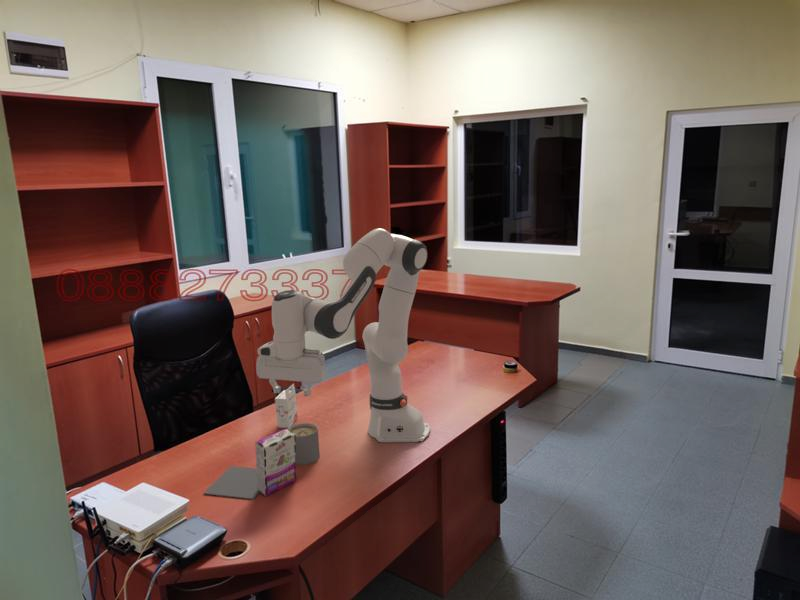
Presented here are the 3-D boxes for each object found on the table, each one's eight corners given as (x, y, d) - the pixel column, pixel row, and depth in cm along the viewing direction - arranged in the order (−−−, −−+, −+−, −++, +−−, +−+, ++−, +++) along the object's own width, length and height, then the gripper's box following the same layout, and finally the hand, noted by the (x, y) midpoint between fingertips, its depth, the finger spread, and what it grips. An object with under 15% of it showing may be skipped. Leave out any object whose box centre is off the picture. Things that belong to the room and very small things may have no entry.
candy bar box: (286, 474, 175) (286, 427, 170) (296, 481, 172) (296, 433, 167) (255, 489, 167) (254, 440, 162) (265, 497, 164) (265, 447, 159)
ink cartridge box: (285, 418, 217) (283, 382, 214) (297, 418, 216) (295, 382, 213) (276, 427, 209) (273, 390, 206) (289, 428, 208) (286, 391, 205)
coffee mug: (307, 467, 180) (305, 438, 178) (283, 460, 185) (280, 432, 182) (331, 449, 191) (329, 422, 189) (308, 443, 196) (306, 416, 194)
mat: (277, 471, 178) (276, 470, 178) (253, 499, 163) (253, 498, 163) (231, 467, 181) (230, 466, 181) (203, 494, 166) (203, 493, 166)
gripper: (328, 347, 159) (330, 393, 162) (262, 342, 164) (265, 387, 167) (319, 353, 153) (321, 401, 157) (251, 349, 158) (255, 395, 162)
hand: (292, 394), depth 162 cm, fingers open, 8 cm apart
